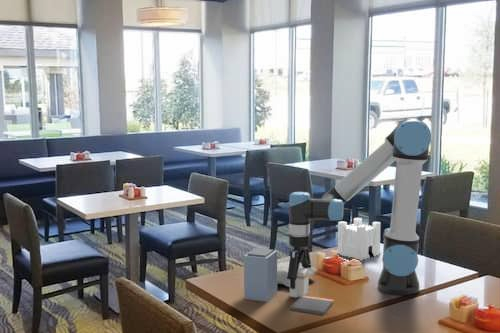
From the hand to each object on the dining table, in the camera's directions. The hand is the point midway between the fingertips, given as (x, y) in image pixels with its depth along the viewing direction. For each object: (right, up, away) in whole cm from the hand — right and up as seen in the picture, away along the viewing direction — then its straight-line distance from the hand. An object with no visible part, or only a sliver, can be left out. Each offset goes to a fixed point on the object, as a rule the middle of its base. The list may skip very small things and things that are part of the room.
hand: (299, 290), depth 214 cm
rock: (-4, 0, +14) cm, 14 cm away
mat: (+3, -3, -12) cm, 13 cm away
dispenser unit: (-14, -2, -1) cm, 14 cm away
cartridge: (0, -1, 0) cm, 1 cm away
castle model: (+31, +6, +50) cm, 60 cm away
